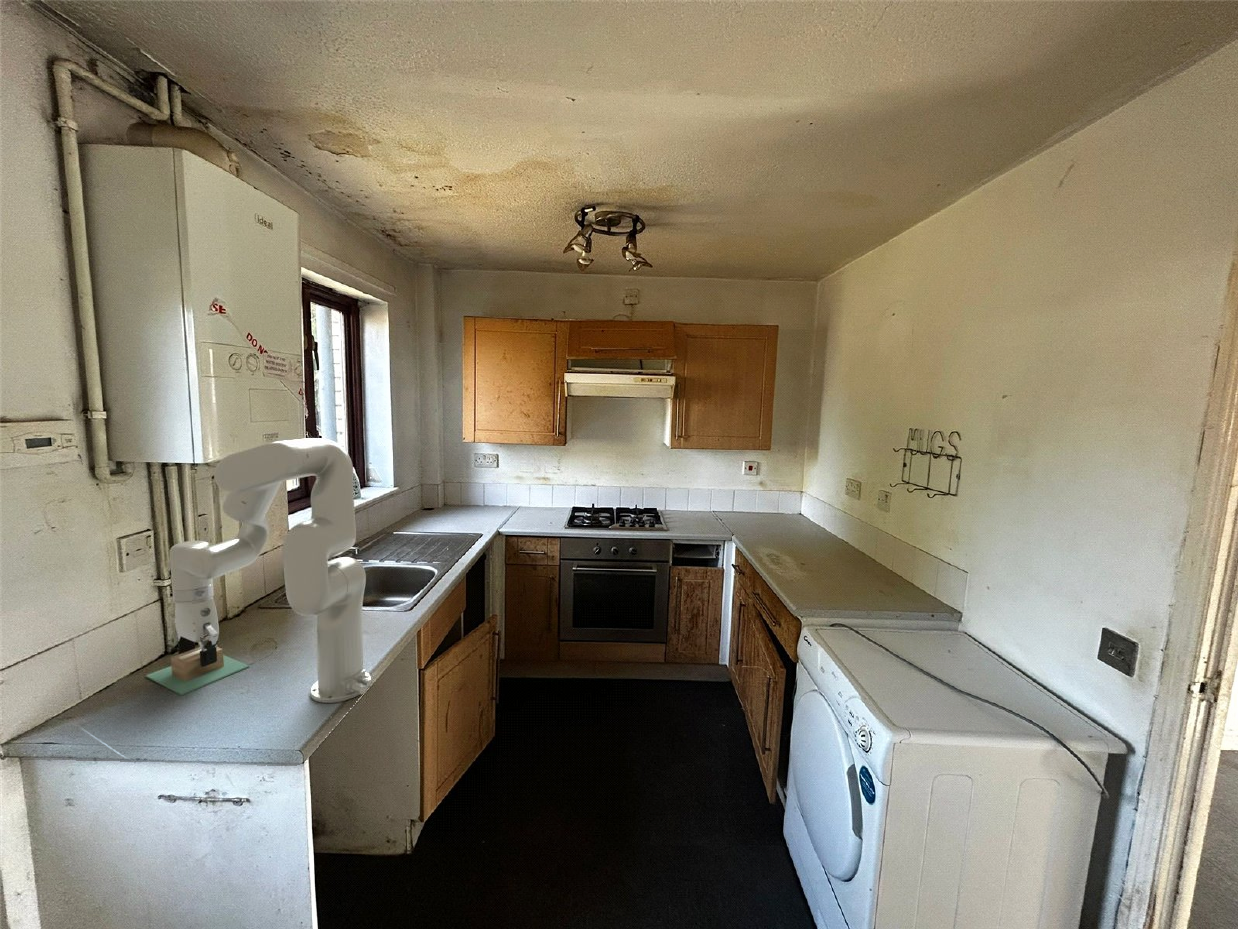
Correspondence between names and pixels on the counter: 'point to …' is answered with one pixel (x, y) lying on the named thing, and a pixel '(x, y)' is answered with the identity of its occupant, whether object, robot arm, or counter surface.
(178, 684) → the play mat
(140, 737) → the counter surface
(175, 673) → the cardboard box
